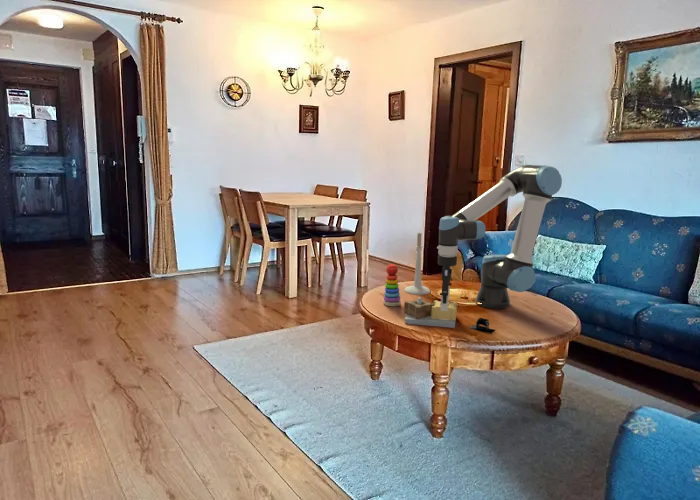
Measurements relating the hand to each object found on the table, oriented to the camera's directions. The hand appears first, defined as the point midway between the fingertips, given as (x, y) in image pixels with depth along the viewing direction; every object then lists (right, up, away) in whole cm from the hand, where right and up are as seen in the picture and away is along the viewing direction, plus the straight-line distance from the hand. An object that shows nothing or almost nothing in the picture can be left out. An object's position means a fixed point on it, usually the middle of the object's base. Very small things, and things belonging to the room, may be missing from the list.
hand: (445, 305), depth 206 cm
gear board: (-5, -6, +3) cm, 9 cm away
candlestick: (-5, +2, +45) cm, 45 cm away
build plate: (+13, -9, -7) cm, 18 cm away
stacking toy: (-20, -2, +23) cm, 31 cm away
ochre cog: (0, -4, +1) cm, 5 cm away
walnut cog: (-10, -4, +3) cm, 12 cm away
